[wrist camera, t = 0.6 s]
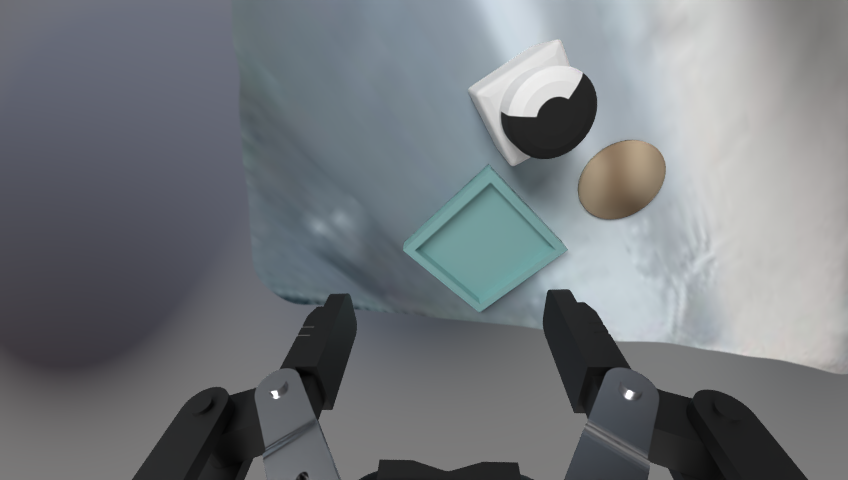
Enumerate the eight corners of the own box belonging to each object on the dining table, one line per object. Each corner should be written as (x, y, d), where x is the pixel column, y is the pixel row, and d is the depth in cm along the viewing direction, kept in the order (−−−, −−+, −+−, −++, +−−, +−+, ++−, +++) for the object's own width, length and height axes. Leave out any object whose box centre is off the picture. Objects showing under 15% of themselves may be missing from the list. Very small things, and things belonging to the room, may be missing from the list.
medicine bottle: (561, 113, 32) (624, 134, 21) (497, 150, 34) (526, 187, 23) (533, 43, 29) (591, 28, 18) (466, 88, 31) (483, 98, 20)
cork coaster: (636, 121, 32) (639, 122, 31) (677, 180, 35) (680, 181, 34) (562, 181, 35) (563, 183, 35) (604, 231, 38) (606, 233, 38)
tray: (488, 164, 34) (491, 169, 33) (561, 241, 39) (567, 249, 37) (404, 242, 40) (403, 250, 38) (477, 302, 44) (479, 312, 42)
